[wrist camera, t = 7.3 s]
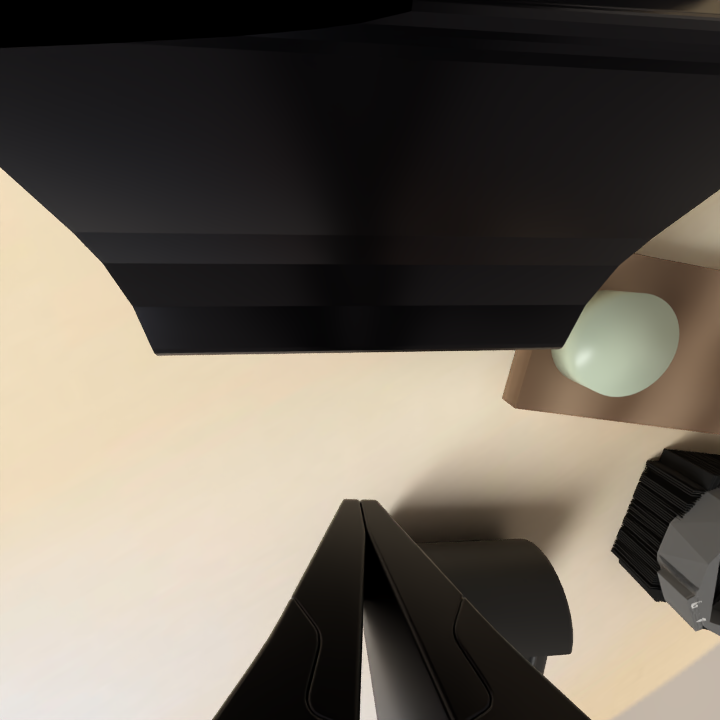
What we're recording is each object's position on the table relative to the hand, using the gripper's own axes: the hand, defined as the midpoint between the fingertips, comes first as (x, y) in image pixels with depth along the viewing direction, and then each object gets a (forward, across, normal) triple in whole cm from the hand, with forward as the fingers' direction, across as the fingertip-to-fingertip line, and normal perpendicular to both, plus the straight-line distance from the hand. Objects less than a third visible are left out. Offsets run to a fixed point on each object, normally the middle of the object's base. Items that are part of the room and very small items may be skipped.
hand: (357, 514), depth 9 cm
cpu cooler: (+12, -25, +8) cm, 29 cm away
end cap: (+12, -7, +12) cm, 19 cm away
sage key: (+9, -13, -4) cm, 16 cm away
